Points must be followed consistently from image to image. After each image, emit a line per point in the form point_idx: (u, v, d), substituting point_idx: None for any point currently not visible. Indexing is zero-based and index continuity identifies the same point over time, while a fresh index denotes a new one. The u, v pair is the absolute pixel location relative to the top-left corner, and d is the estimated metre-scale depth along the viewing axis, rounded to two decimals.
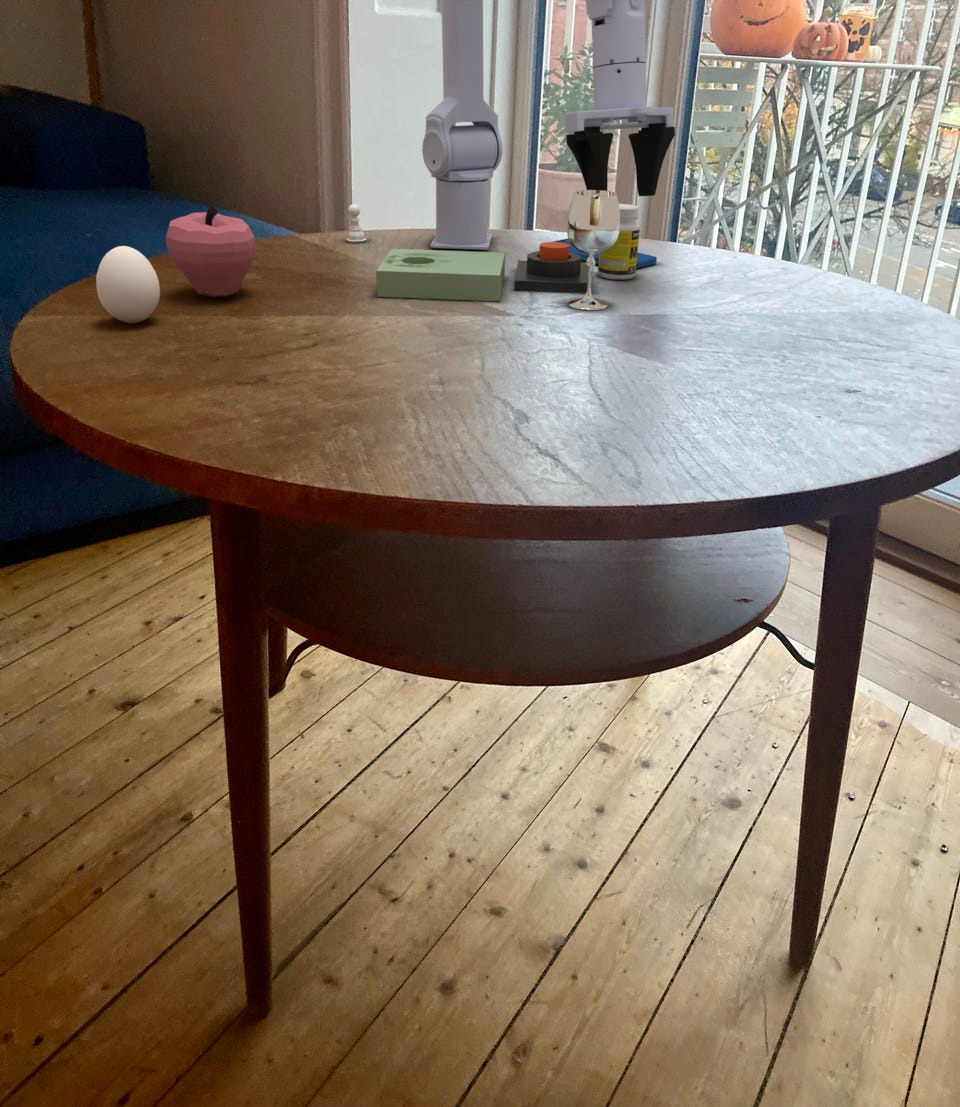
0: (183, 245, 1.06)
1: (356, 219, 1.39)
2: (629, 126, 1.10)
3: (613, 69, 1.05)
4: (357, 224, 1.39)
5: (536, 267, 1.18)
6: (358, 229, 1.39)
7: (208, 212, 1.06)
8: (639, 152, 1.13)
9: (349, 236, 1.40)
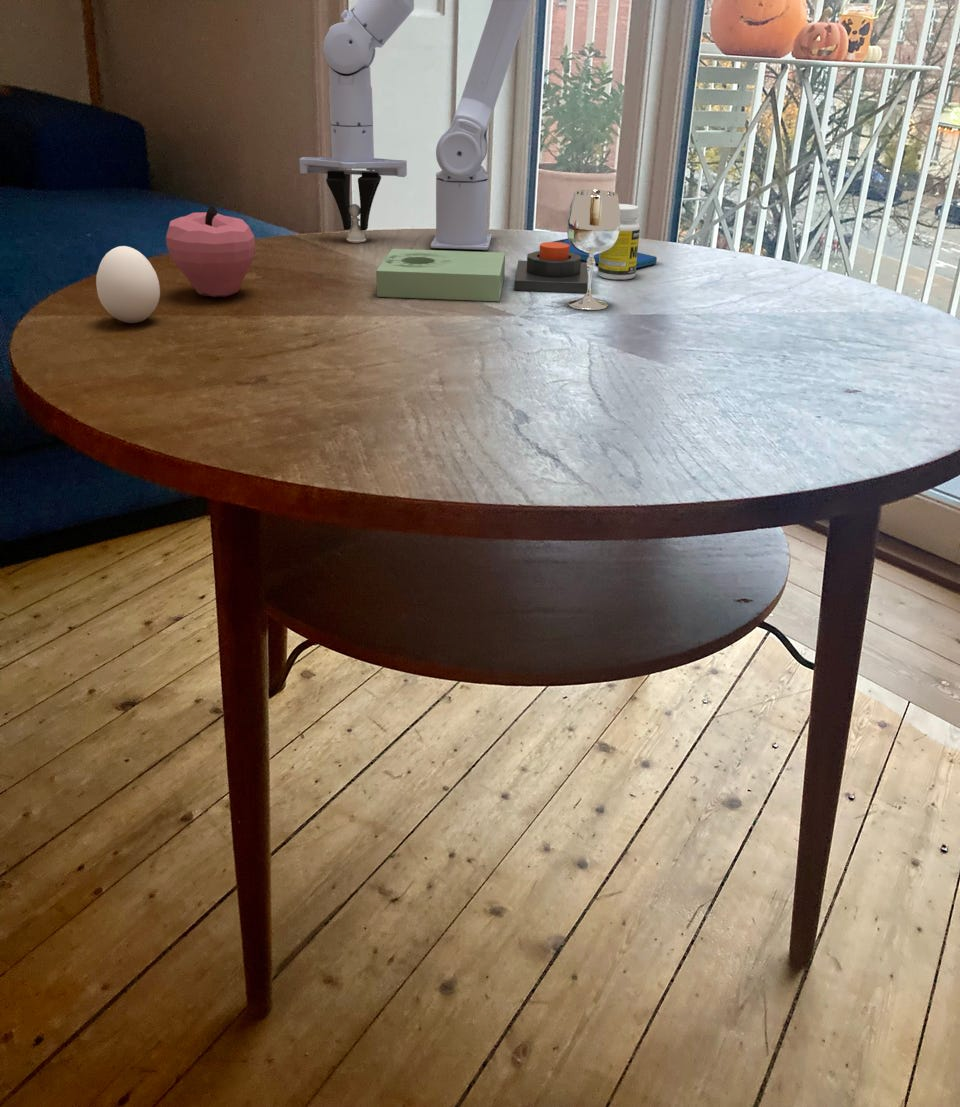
0: (183, 245, 1.06)
1: (356, 219, 1.39)
2: (360, 173, 1.36)
3: (332, 129, 1.32)
4: (357, 224, 1.39)
5: (536, 267, 1.18)
6: (358, 229, 1.39)
7: (208, 212, 1.06)
8: None
9: (349, 236, 1.39)
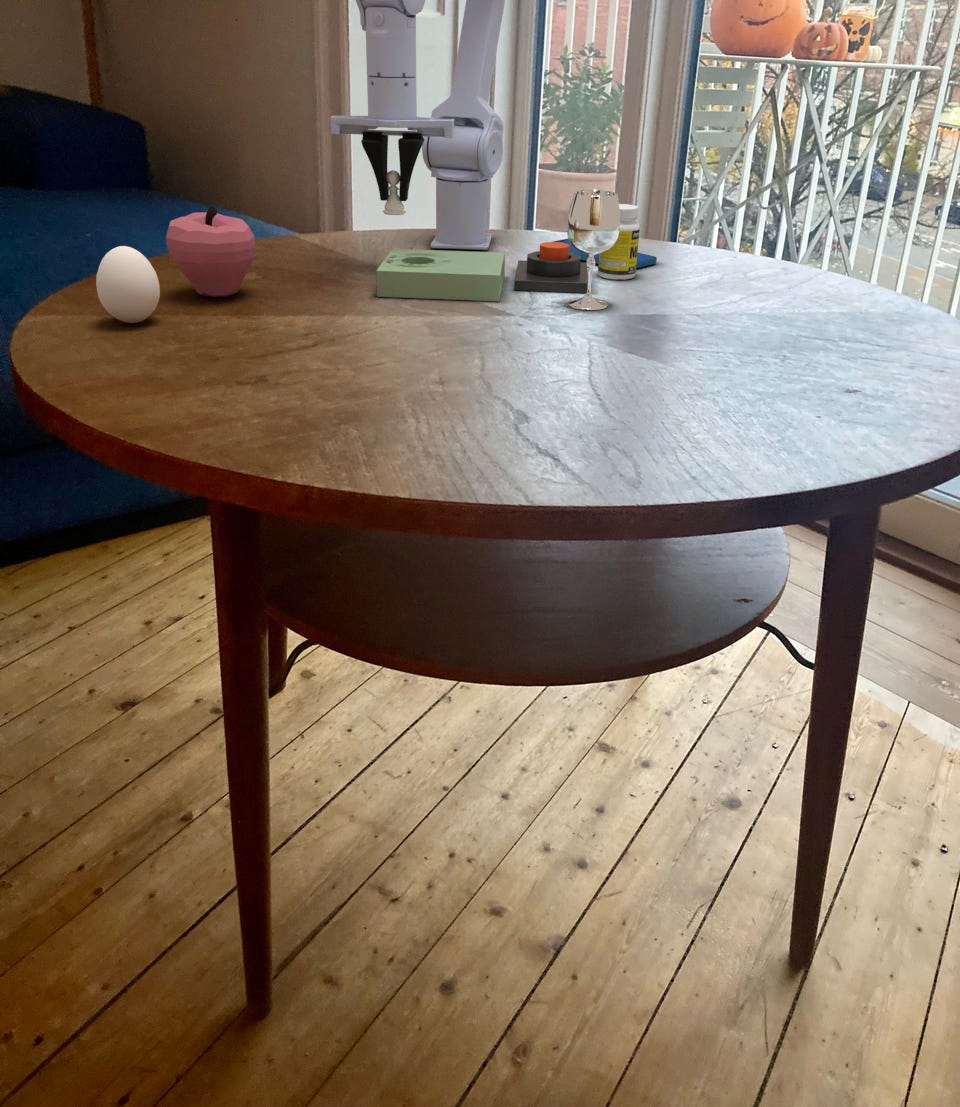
0: (183, 245, 1.06)
1: (395, 188, 1.20)
2: (401, 133, 1.17)
3: (369, 81, 1.14)
4: (396, 194, 1.21)
5: (536, 267, 1.18)
6: (397, 199, 1.21)
7: (208, 212, 1.06)
8: None
9: (386, 207, 1.21)
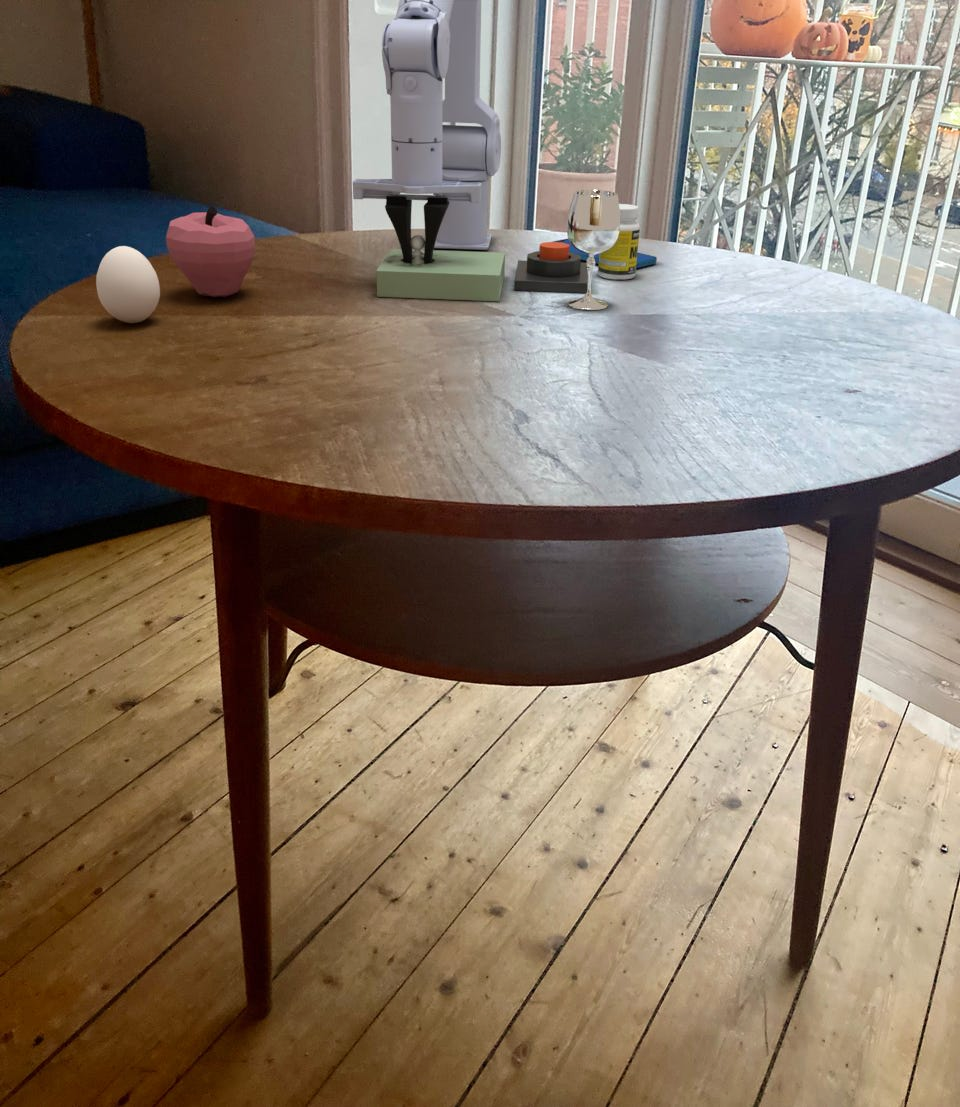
0: (183, 245, 1.06)
1: (419, 253, 1.16)
2: (426, 198, 1.13)
3: (393, 146, 1.09)
4: (420, 259, 1.16)
5: (536, 267, 1.18)
6: None
7: (208, 212, 1.06)
8: None
9: None
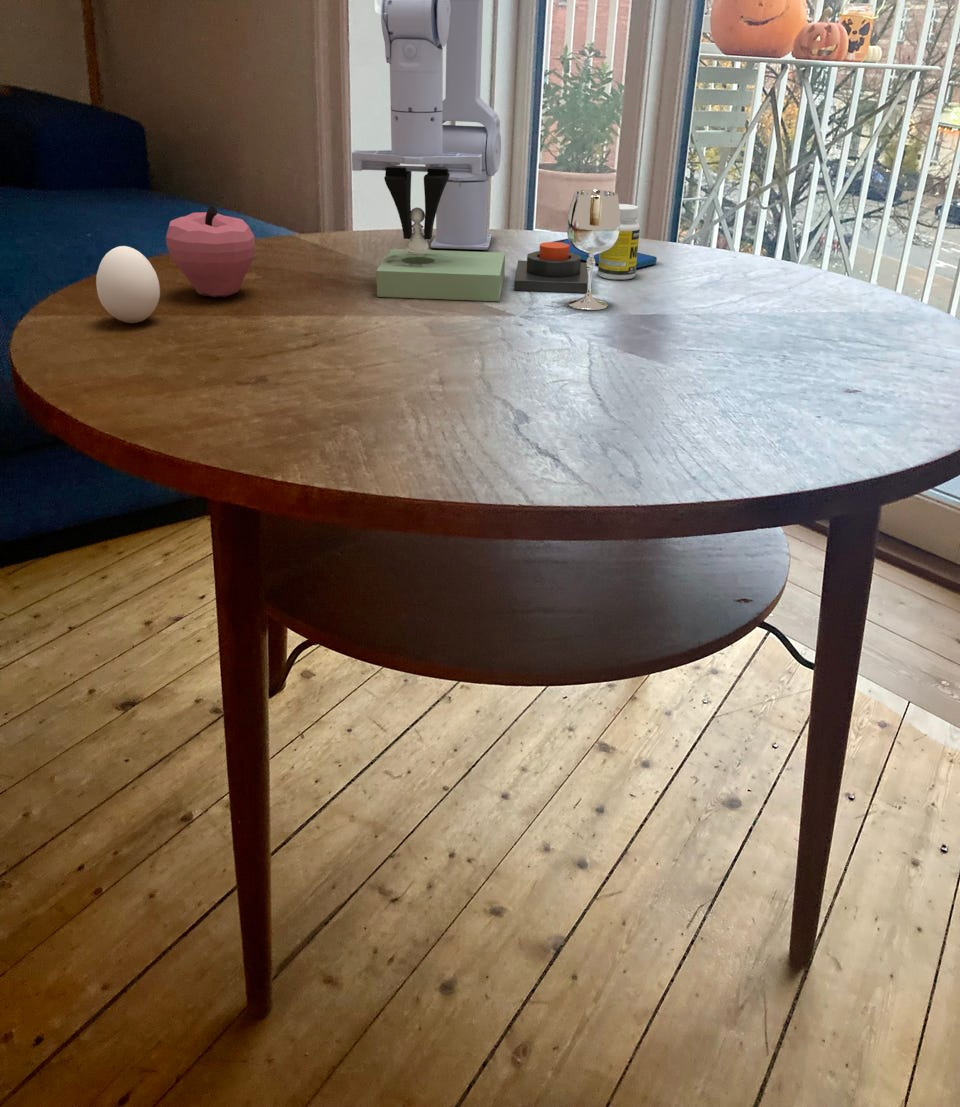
0: (183, 245, 1.06)
1: (419, 226, 1.14)
2: (426, 169, 1.12)
3: (393, 116, 1.08)
4: (420, 232, 1.15)
5: (536, 267, 1.18)
6: (421, 238, 1.15)
7: (208, 212, 1.06)
8: None
9: (410, 246, 1.15)
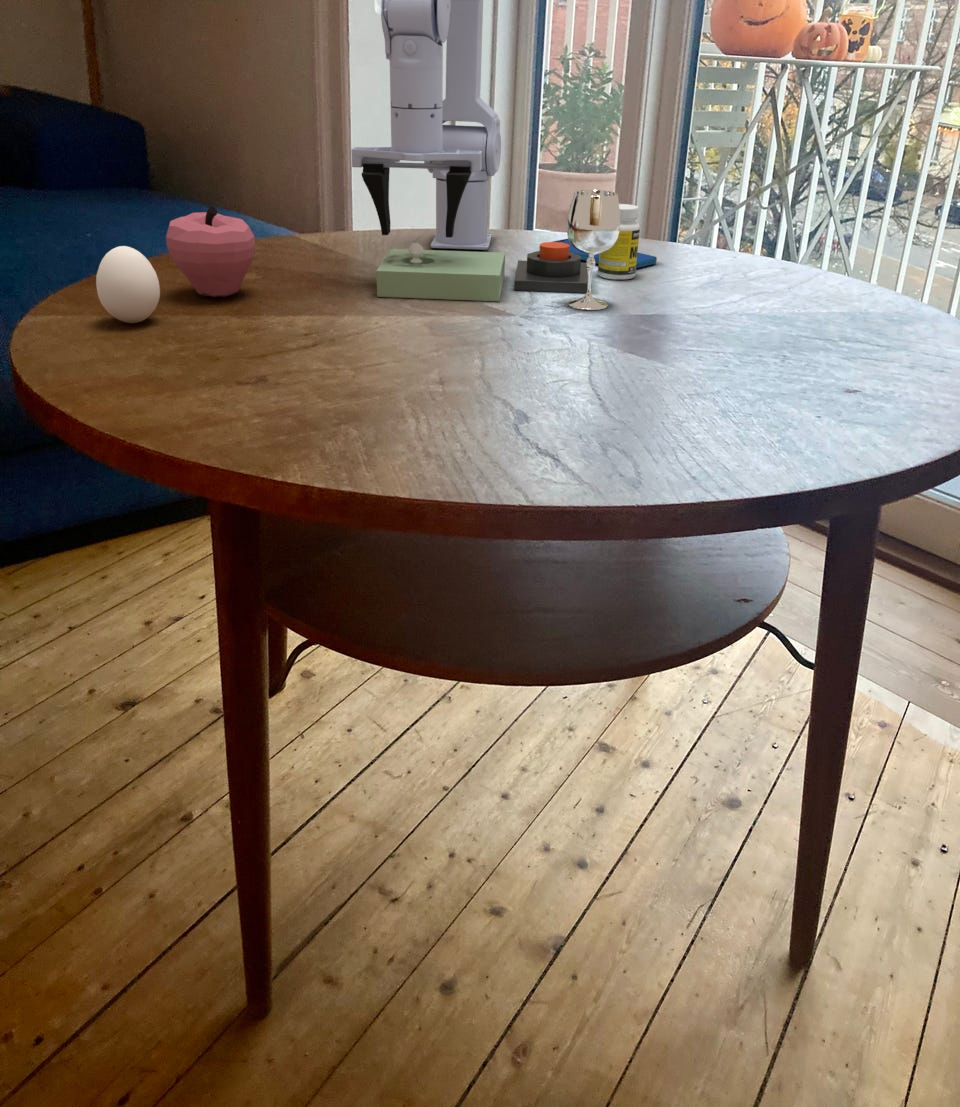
0: (183, 245, 1.06)
1: (418, 261, 1.16)
2: (425, 166, 1.11)
3: (393, 112, 1.08)
4: None
5: (536, 267, 1.18)
6: None
7: (208, 212, 1.06)
8: None
9: None
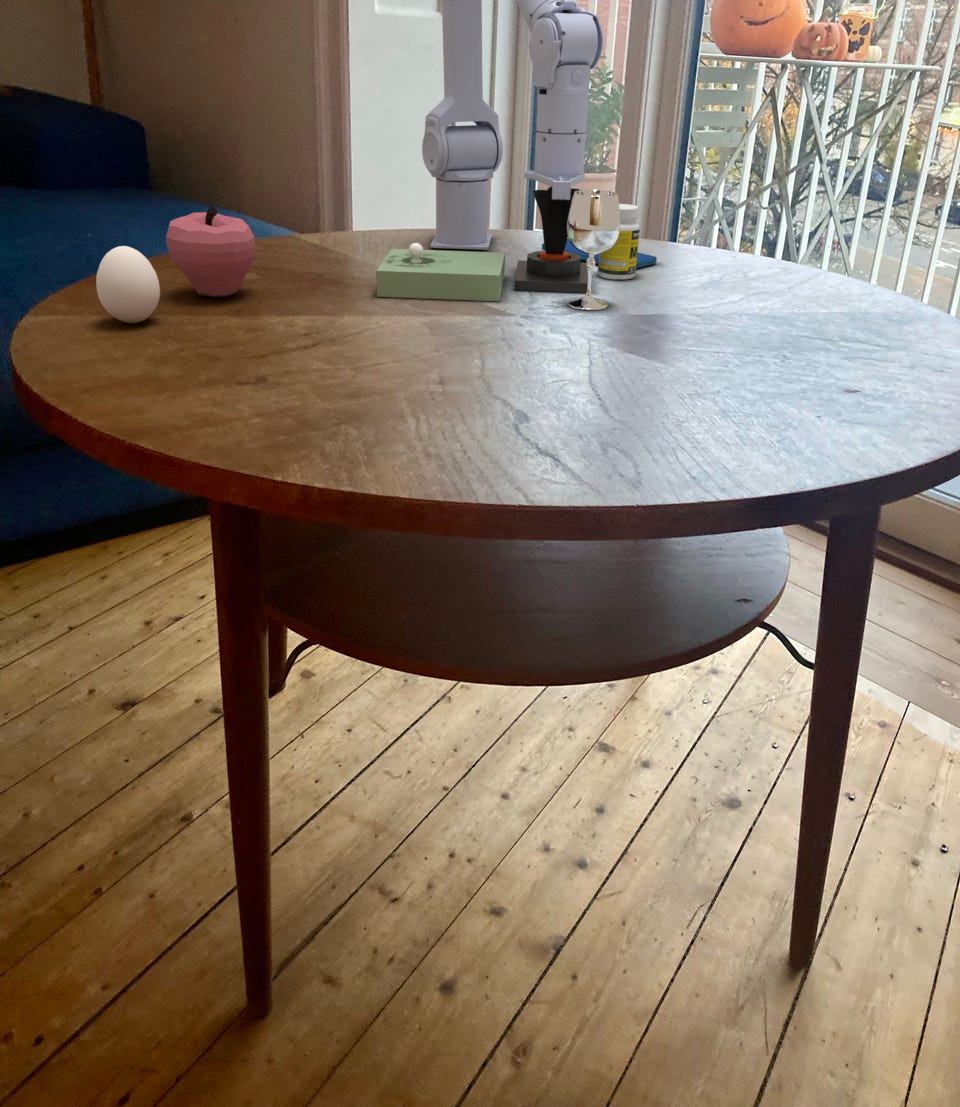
0: (183, 245, 1.06)
1: (418, 261, 1.16)
2: None
3: None
4: None
5: (536, 267, 1.18)
6: None
7: (208, 212, 1.06)
8: None
9: None
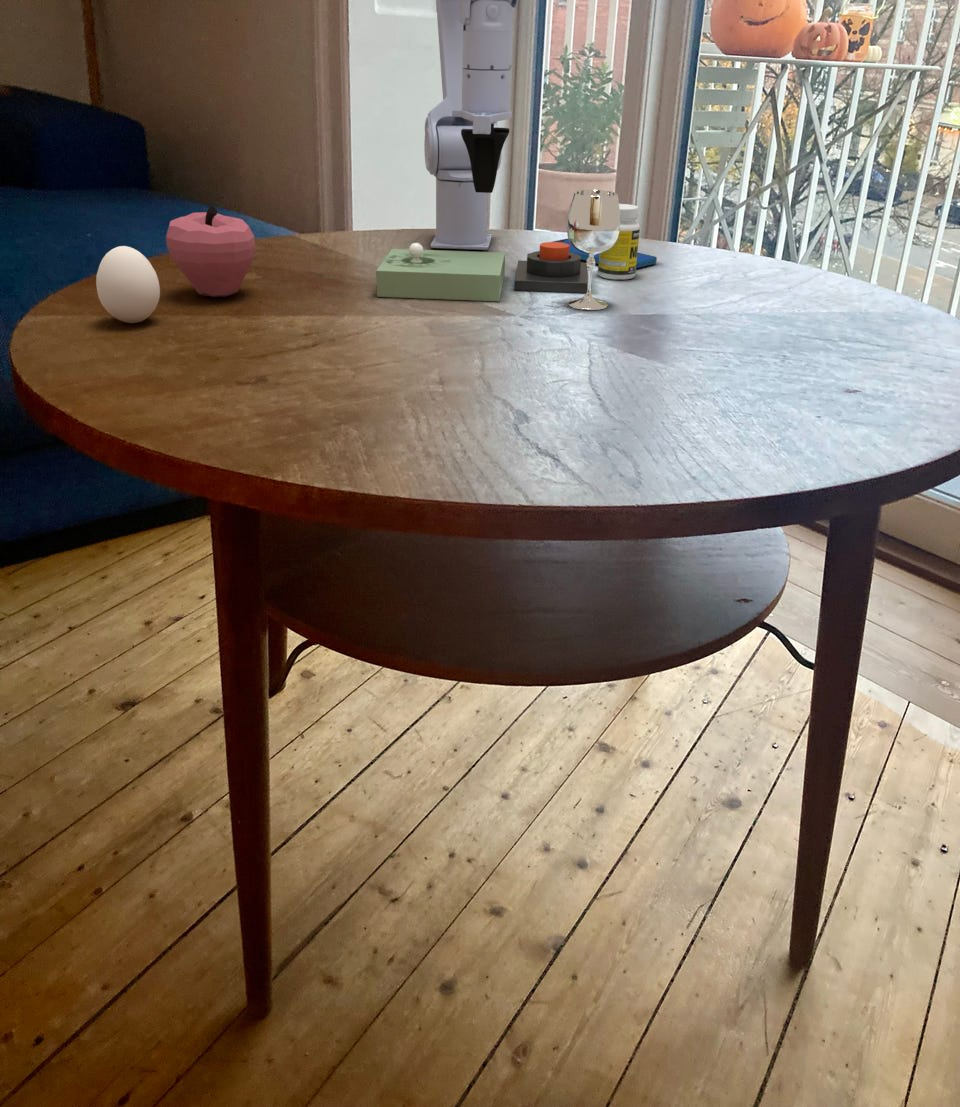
0: (183, 245, 1.06)
1: (418, 261, 1.16)
2: None
3: None
4: None
5: (536, 267, 1.18)
6: None
7: (208, 212, 1.06)
8: None
9: None
